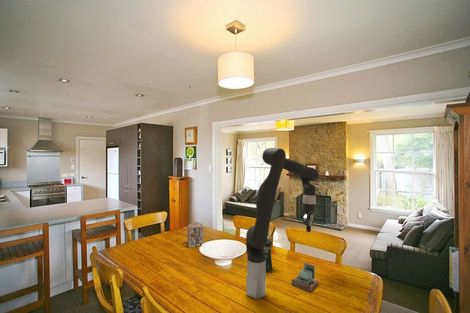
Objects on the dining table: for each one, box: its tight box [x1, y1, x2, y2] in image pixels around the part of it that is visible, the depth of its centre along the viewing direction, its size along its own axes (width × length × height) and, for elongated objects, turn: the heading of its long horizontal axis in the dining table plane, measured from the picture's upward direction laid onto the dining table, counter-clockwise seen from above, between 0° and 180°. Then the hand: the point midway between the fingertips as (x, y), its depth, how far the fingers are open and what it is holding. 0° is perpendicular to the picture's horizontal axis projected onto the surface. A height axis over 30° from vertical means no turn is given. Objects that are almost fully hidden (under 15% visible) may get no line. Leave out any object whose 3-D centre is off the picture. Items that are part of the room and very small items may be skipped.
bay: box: [291, 275, 319, 293], centre depth 127 cm, size 11×10×3 cm
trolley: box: [297, 262, 316, 285], centre depth 128 cm, size 9×6×9 cm, turn 139°
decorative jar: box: [186, 221, 205, 248], centre depth 187 cm, size 12×12×18 cm
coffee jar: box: [263, 238, 273, 272], centre depth 146 cm, size 10×8×19 cm
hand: (308, 231), depth 138 cm, fingers closed
